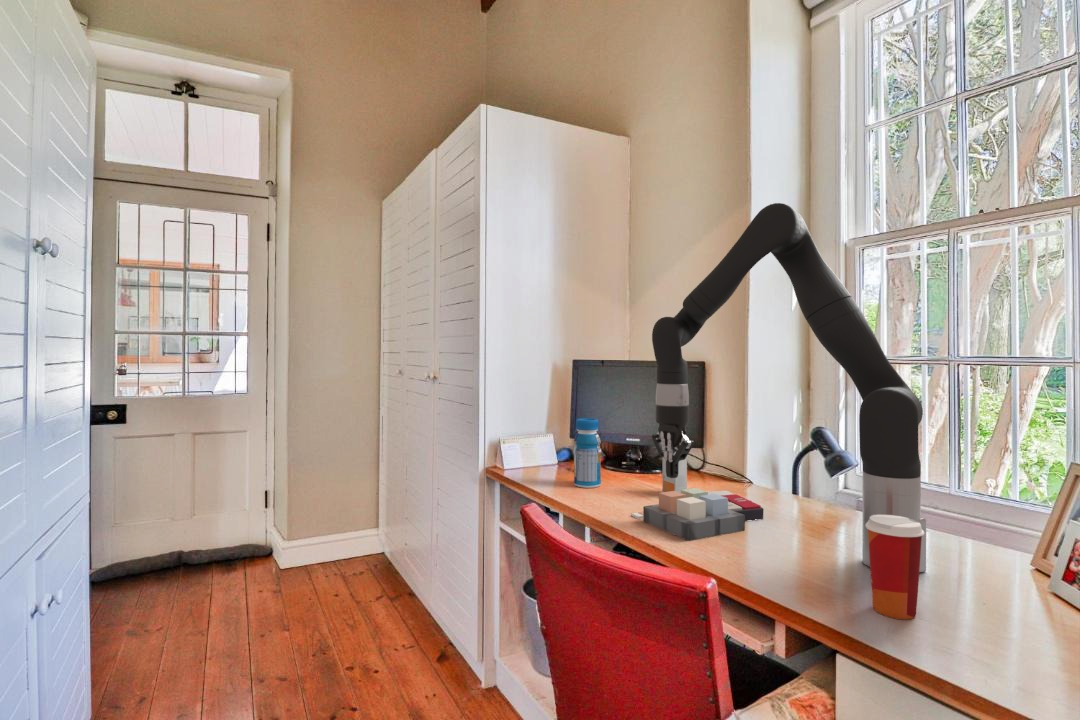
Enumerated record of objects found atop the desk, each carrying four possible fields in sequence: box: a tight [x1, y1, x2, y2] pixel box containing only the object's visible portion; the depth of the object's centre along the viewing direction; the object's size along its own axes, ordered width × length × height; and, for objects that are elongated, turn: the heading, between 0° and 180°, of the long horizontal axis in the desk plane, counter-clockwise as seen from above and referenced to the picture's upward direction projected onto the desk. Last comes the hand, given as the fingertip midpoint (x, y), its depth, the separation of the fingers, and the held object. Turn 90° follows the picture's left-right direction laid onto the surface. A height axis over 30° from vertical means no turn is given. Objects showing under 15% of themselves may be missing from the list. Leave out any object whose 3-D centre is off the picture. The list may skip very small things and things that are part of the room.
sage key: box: [681, 487, 709, 499], centre depth 136 cm, size 4×4×4 cm
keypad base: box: [642, 503, 746, 542], centre depth 132 cm, size 16×16×4 cm
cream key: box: [677, 497, 706, 520], centre depth 127 cm, size 4×4×4 cm
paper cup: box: [865, 515, 924, 621], centre depth 88 cm, size 8×8×14 cm
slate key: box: [699, 494, 728, 516], centre depth 130 cm, size 4×4×4 cm
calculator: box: [707, 490, 765, 522], centre depth 142 cm, size 11×4×15 cm
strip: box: [630, 511, 643, 520], centre depth 142 cm, size 3×16×1 cm, turn 116°
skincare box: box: [661, 451, 688, 493], centre depth 161 cm, size 6×4×12 cm
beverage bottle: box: [572, 417, 602, 489], centre depth 173 cm, size 8×8×20 cm
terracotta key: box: [658, 491, 686, 513], centre depth 133 cm, size 4×4×4 cm
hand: (672, 477), depth 133 cm, fingers closed
